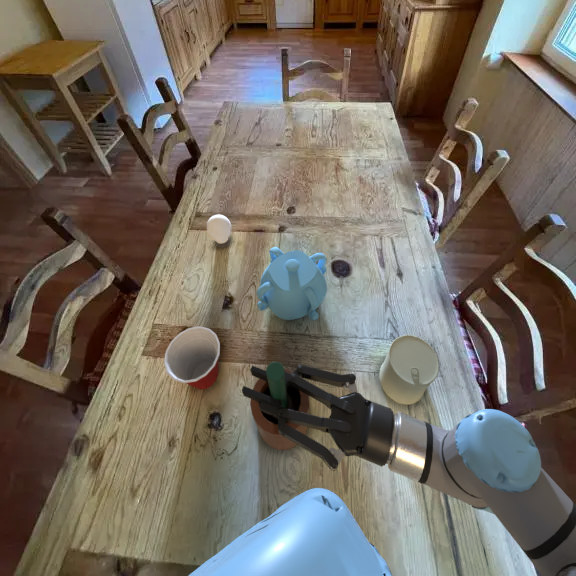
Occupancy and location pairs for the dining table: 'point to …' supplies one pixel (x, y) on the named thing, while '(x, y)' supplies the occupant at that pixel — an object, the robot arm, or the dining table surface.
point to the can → (408, 369)
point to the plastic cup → (193, 357)
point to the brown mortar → (264, 420)
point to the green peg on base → (278, 386)
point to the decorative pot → (293, 284)
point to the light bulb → (219, 230)
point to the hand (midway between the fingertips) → (248, 380)
